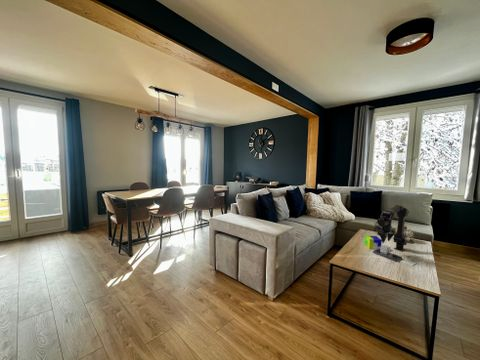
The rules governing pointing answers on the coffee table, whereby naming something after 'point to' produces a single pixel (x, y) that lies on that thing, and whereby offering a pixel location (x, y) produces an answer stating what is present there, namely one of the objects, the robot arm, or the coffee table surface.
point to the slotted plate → (390, 256)
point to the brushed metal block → (385, 250)
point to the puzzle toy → (373, 242)
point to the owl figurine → (407, 234)
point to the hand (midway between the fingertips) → (385, 241)
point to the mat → (408, 262)
